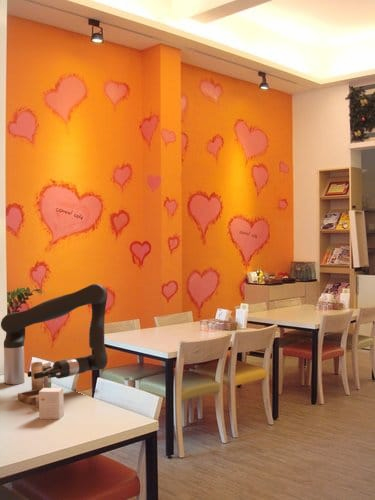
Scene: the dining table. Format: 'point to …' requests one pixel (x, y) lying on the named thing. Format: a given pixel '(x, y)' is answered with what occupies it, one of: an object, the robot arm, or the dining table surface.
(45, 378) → the stand
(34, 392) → the tray
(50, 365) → the ink box
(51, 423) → the dining table surface
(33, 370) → the tan hollow cylinder
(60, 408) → the small box
